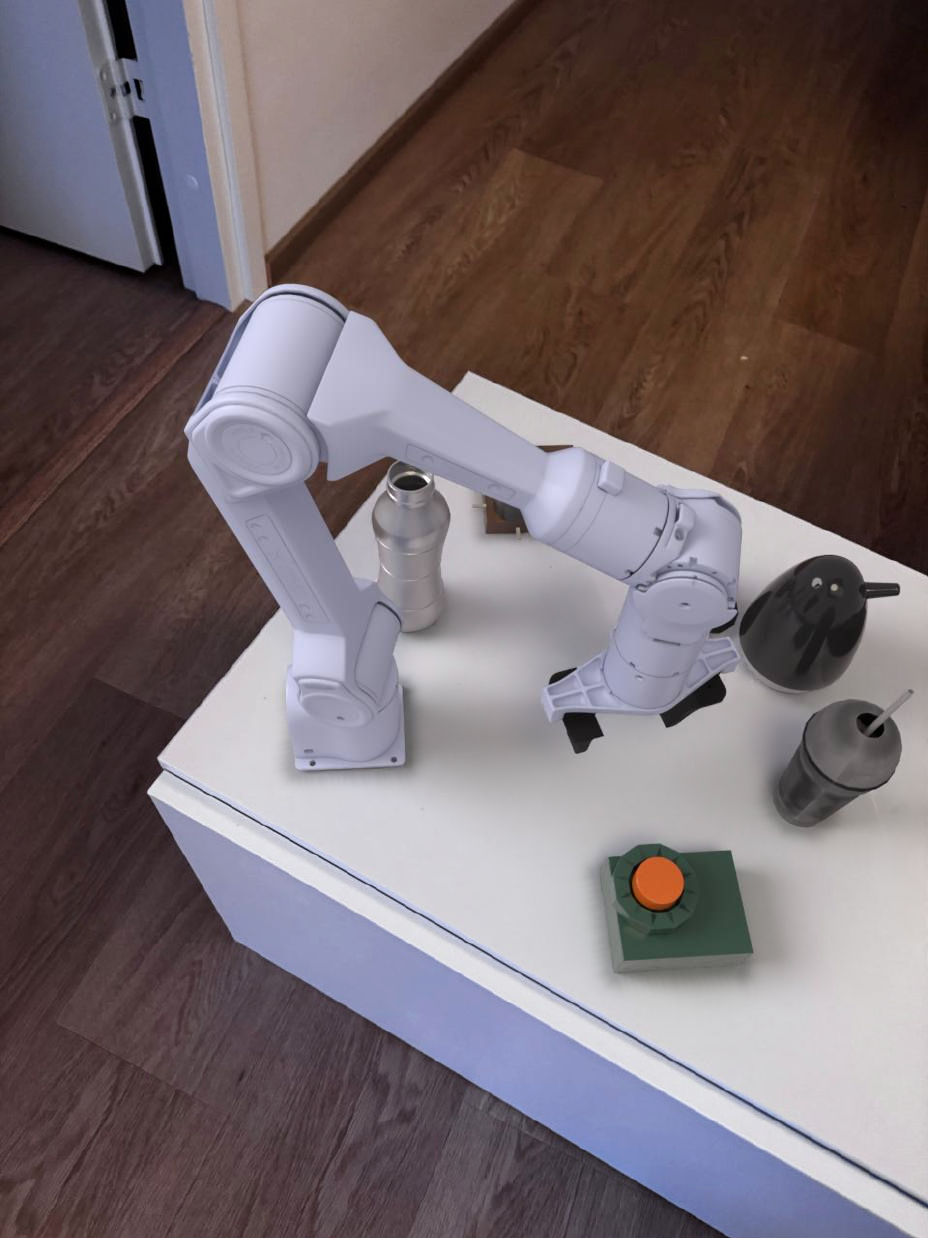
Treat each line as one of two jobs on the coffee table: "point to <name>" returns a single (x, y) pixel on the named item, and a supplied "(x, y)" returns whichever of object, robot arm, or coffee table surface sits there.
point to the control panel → (494, 521)
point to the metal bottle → (411, 544)
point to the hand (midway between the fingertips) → (620, 729)
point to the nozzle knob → (507, 511)
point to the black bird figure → (808, 624)
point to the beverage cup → (839, 760)
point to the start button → (657, 883)
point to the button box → (676, 914)
